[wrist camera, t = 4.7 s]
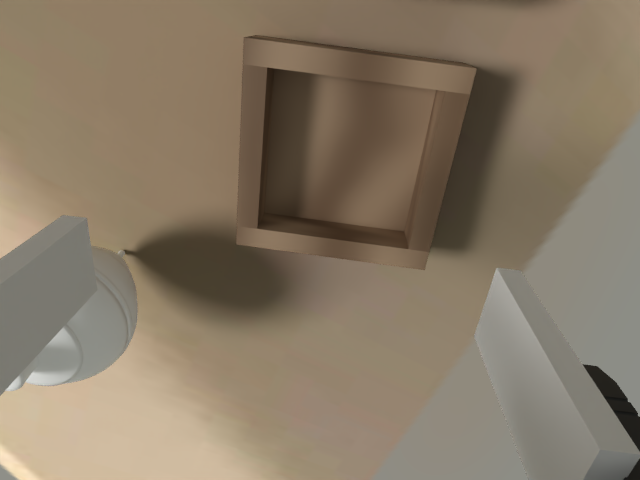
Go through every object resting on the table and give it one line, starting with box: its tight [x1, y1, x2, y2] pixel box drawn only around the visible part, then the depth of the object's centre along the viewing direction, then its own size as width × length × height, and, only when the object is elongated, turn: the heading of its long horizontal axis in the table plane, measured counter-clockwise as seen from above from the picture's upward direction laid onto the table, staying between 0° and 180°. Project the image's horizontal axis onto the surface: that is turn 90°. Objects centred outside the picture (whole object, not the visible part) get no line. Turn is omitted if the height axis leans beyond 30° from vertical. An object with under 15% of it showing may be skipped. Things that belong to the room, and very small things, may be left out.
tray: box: [236, 35, 477, 270], centre depth 25 cm, size 11×11×3 cm
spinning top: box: [5, 246, 138, 391], centre depth 25 cm, size 8×8×12 cm
